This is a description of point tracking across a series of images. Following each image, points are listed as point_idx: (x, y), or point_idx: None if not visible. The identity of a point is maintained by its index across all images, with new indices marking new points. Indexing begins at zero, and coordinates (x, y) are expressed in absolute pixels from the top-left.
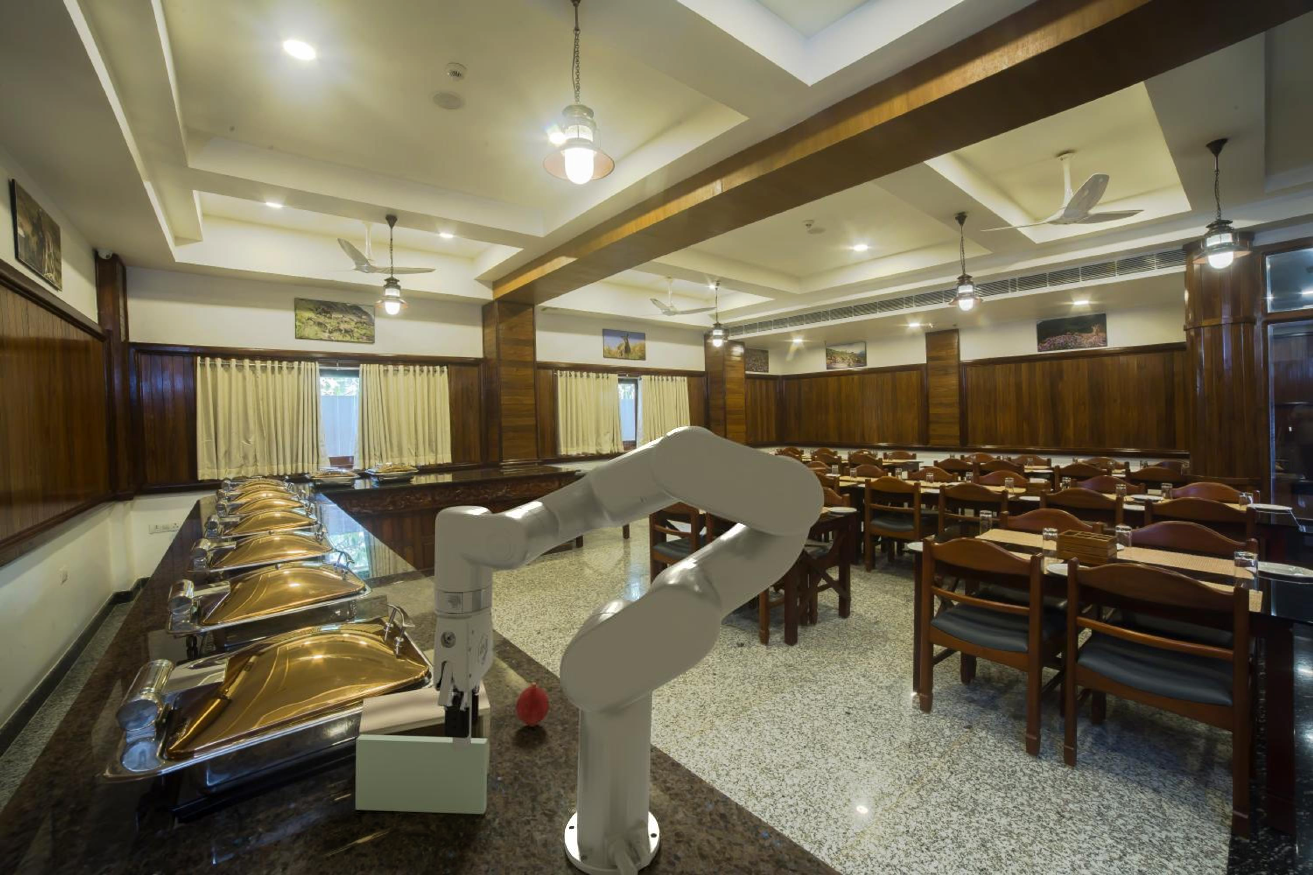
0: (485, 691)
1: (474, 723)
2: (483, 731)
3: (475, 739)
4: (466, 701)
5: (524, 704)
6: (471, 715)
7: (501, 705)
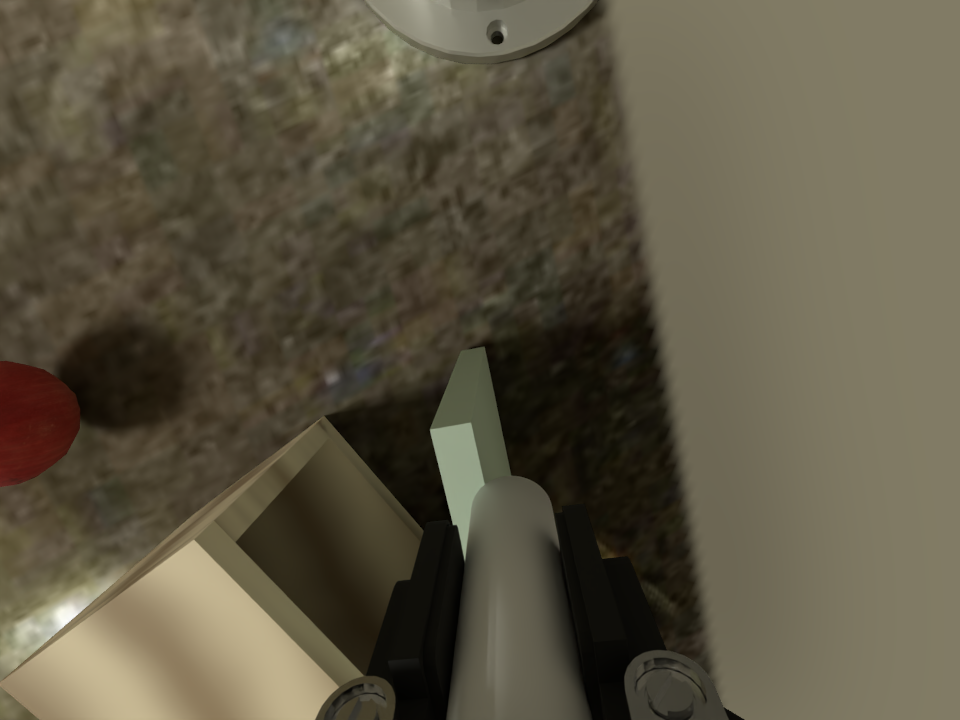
0: (83, 621)
1: (456, 529)
2: (272, 498)
3: (453, 477)
4: (648, 718)
5: (17, 447)
6: (454, 578)
7: (21, 536)
